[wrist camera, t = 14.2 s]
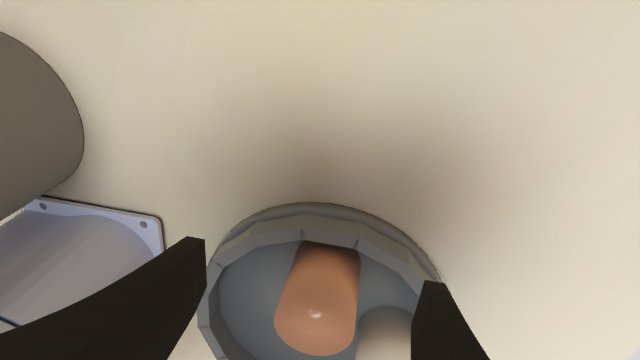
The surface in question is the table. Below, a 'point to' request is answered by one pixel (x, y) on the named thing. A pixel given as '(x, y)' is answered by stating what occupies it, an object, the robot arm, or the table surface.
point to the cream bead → (384, 334)
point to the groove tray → (274, 265)
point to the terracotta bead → (319, 299)
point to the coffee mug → (33, 127)
